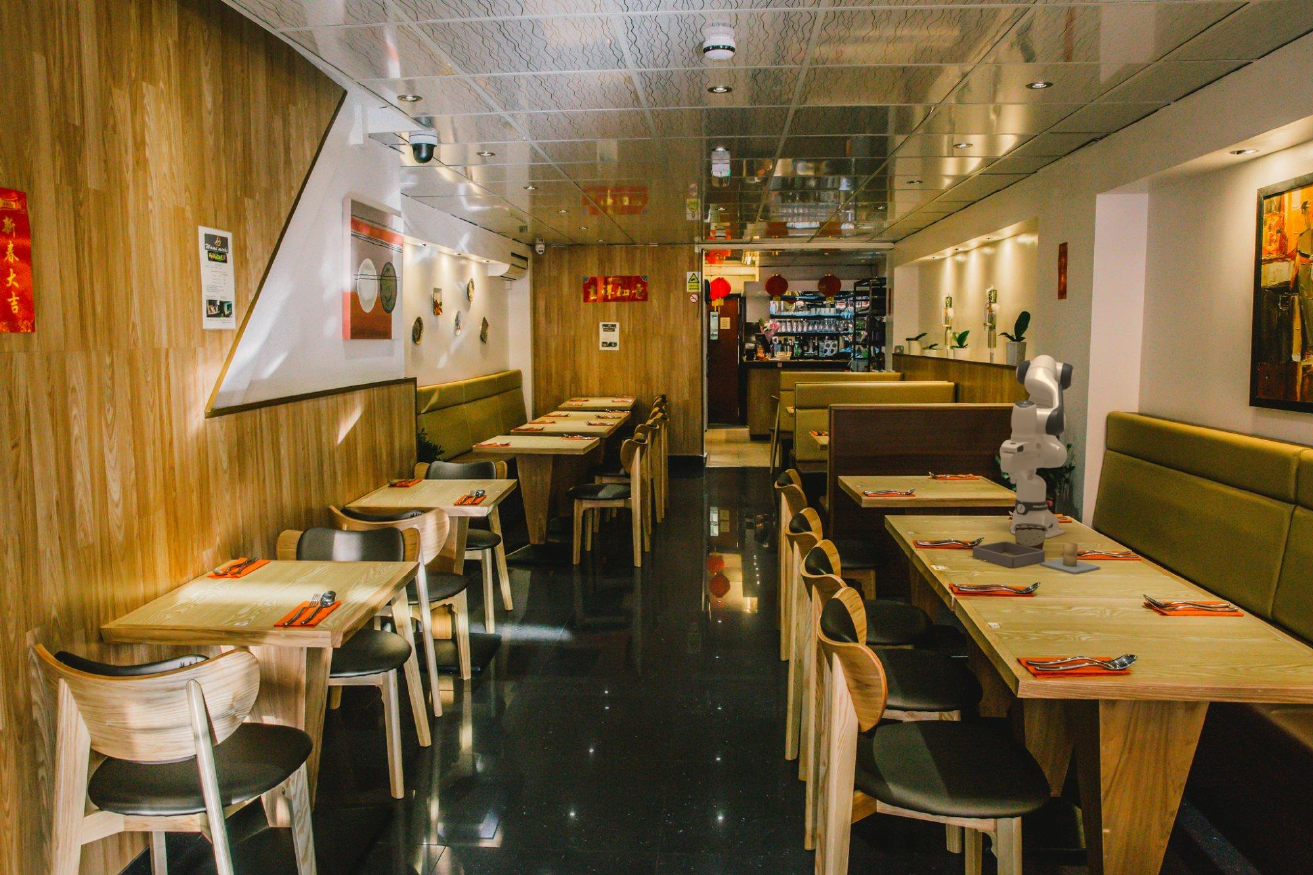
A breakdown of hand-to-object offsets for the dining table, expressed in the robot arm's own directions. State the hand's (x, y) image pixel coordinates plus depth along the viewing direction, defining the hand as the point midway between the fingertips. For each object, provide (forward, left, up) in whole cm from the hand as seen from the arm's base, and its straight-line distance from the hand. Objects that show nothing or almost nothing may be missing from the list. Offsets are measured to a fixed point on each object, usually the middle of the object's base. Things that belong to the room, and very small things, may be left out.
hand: (1022, 481), depth 329 cm
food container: (-8, -2, -28) cm, 29 cm away
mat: (0, +22, -27) cm, 35 cm away
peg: (0, +22, -27) cm, 34 cm away
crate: (+10, +4, -27) cm, 30 cm away
